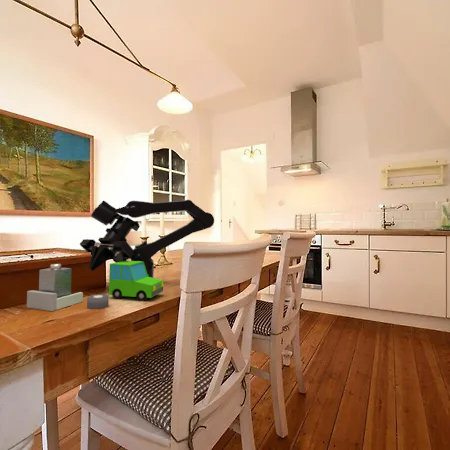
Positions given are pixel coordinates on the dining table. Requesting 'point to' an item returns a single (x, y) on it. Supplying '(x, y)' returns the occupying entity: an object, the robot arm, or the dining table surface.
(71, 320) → the dining table surface
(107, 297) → the spare wheel
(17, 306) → the dining table surface
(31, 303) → the bay
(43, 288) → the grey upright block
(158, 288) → the toy car
